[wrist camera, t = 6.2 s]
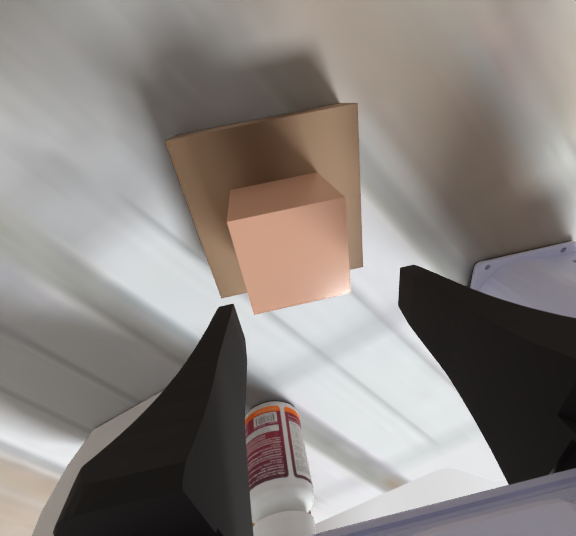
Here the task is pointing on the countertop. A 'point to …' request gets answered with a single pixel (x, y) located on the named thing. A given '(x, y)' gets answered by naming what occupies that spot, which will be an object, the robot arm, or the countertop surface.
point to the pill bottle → (278, 472)
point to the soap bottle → (85, 453)
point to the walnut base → (266, 174)
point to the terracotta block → (290, 241)
